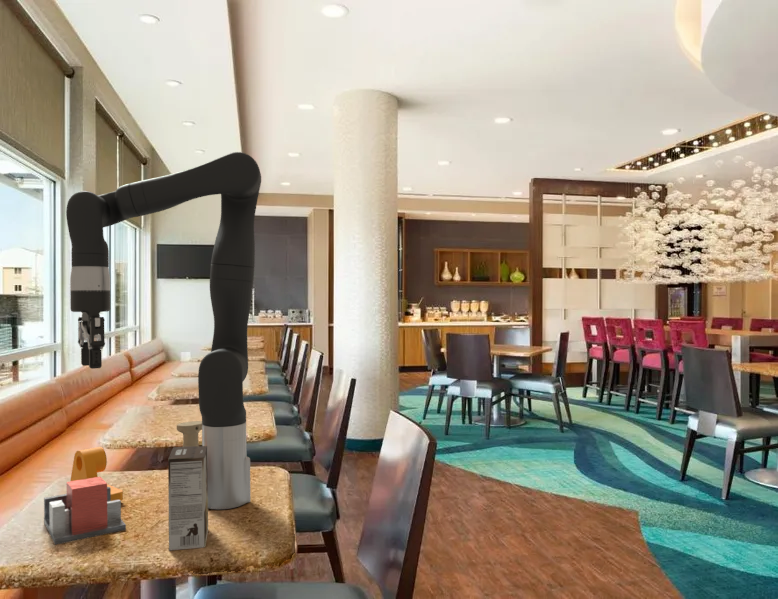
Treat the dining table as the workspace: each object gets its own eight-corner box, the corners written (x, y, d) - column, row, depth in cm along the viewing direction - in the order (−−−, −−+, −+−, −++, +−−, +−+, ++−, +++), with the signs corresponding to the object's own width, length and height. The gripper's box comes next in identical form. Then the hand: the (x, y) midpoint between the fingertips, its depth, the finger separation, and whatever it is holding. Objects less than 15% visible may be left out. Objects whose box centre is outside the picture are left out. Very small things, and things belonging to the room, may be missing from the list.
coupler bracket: (109, 510, 129) (109, 481, 129) (125, 529, 118) (125, 498, 118) (44, 522, 122) (43, 492, 122) (54, 544, 111) (54, 511, 111)
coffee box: (173, 532, 116) (172, 446, 116) (209, 529, 118) (208, 444, 118) (167, 551, 107) (166, 458, 107) (206, 547, 109) (205, 455, 109)
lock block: (100, 517, 122) (100, 476, 122) (107, 525, 117) (107, 483, 117) (66, 523, 119) (66, 481, 119) (72, 532, 114) (72, 489, 114)
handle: (173, 489, 144) (172, 424, 144) (196, 482, 149) (196, 420, 149) (185, 492, 141) (184, 426, 141) (209, 486, 146) (208, 422, 146)
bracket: (124, 503, 134) (124, 448, 134) (90, 512, 128) (90, 454, 128) (102, 494, 141) (101, 441, 141) (69, 502, 135) (68, 447, 135)
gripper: (117, 288, 125) (118, 368, 125) (102, 290, 137) (103, 363, 137) (76, 288, 121) (77, 371, 121) (64, 289, 132) (65, 365, 132)
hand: (91, 366), depth 129 cm, fingers open, 8 cm apart
